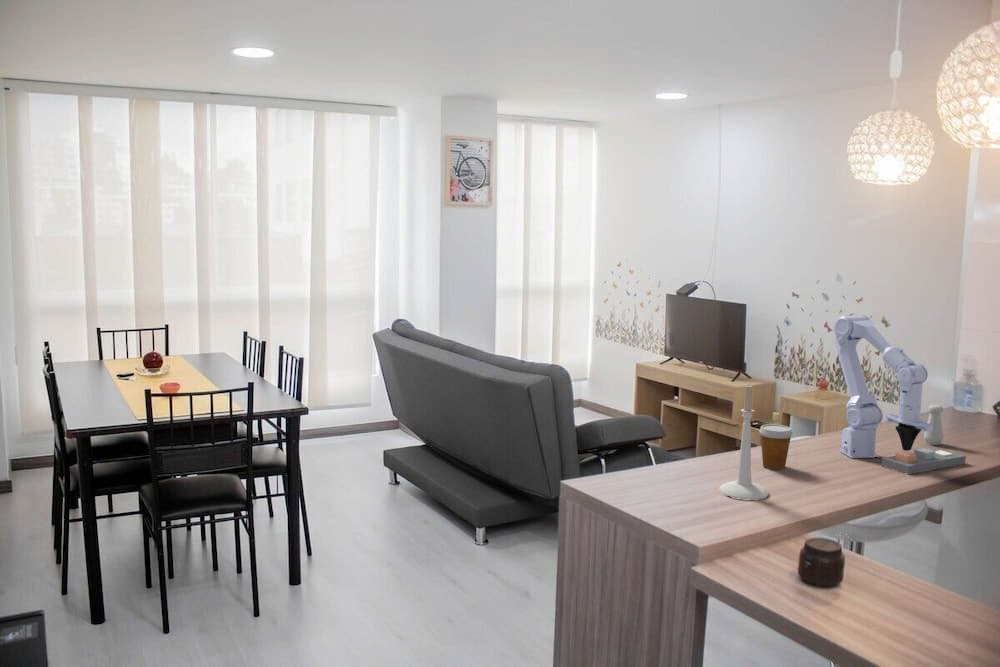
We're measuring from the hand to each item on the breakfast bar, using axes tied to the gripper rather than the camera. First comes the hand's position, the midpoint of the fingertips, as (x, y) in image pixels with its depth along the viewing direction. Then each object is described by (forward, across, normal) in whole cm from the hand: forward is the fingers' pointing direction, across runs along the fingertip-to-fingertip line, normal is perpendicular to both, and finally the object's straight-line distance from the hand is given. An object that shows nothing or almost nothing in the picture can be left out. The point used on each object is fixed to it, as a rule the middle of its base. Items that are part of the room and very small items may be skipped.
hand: (906, 449), depth 247 cm
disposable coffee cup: (+6, +18, +35) cm, 39 cm away
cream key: (+5, 0, -16) cm, 17 cm away
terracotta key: (+4, 0, 0) cm, 4 cm away
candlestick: (+6, +3, +59) cm, 59 cm away
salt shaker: (+6, +15, -32) cm, 35 cm away
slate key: (+4, 0, -8) cm, 9 cm away
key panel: (+6, 0, -8) cm, 10 cm away
